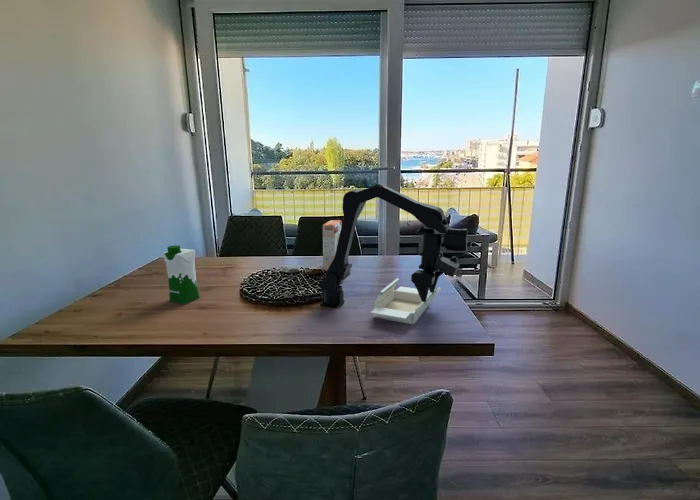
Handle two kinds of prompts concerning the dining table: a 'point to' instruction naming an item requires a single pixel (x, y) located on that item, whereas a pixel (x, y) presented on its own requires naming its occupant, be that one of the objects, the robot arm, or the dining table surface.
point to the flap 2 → (428, 299)
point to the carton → (400, 306)
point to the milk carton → (181, 274)
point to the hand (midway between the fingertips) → (428, 296)
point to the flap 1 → (386, 291)
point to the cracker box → (330, 241)
